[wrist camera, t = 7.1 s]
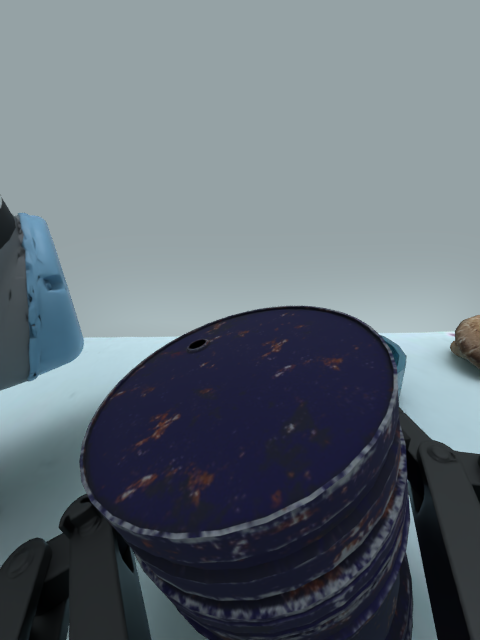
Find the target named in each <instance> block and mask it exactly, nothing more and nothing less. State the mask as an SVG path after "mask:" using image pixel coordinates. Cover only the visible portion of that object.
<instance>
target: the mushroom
mask: <svg viewBox="0 0 480 640" xmlns="http://www.w3.org/2000/svg"><path fill="white" fill-rule="evenodd" d="M450 349H451V351H452V352H453V353H454V354H455V355H457V356H459V357H461V358H464V359H467V360H469V361H470V362H471V363H472V364H473V365H474V366H476V367H477V368H478V369H480V315H477V316H474V317H471V318H468V319H465V320H463V321H462V322H461V323H460V324H459V326H458V327H457V328H456V330H455V341H453V342H452V343H451V346H450Z"/></svg>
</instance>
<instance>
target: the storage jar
mask: <svg viewBox="0 0 480 640" xmlns="http://www.w3.org/2000/svg"><path fill="white" fill-rule="evenodd" d="M79 463H80V472H81V481H82V484H83V486H84V488H85V491H86V493H87V495H88V497H89V499H90V501H91V503H92V504H93V505H94V506H95V507H96V509H97V510H98V511H99V512H100V513H101V514H102V515H103V517H104V518H105V519H106V520H107V521H108V522H109V523H110V524H111V525H112V526H113V527H114V528H115V529H116V530H117V531H118V532H119V533H120V534H121V535H122V536H123V538H124V540H125V542H126V543H127V544H128V545H129V546H130V547H131V549H132V550H133V552H134V554H135V556H136V558H137V560H138V562H139V563H140V565H141V567H142V569H143V571H144V572H145V573H146V574H147V575H148V577H149V578H150V579H151V580H152V581H153V582H154V583H155V584H156V585H157V587H158V588H159V589H160V590H161V591H162V592H163V593H164V594H165V595H166V596H167V598H168V599H169V600H170V601H171V602H172V603H173V604H174V605H175V606H176V608H177V610H178V611H179V612H180V613H181V614H182V615H183V616H184V618H185V619H186V620H187V621H188V622H189V623H190V624H191V625H192V626H193V627H194V628H195V630H196V631H197V632H199V633H200V634H202V635H203V636H205V637H206V638H208V639H209V640H411V638H412V628H413V619H412V613H413V596H412V580H411V574H410V569H409V564H408V559H407V555H406V547H407V539H408V532H409V524H410V511H409V494H408V481H407V460H406V444H405V440H404V437H403V433H402V429H401V426H400V418H399V398H398V375H397V366H396V363H395V360H394V357H393V354H392V351H391V349H390V348H389V346H388V345H387V344H386V342H385V341H384V339H383V338H382V336H381V335H379V334H378V333H377V332H376V331H375V330H374V329H373V328H371V327H370V326H369V325H367V324H366V323H364V322H362V321H361V320H359V319H357V318H355V317H352V316H350V315H348V314H345V313H343V312H339V311H335V310H331V309H326V308H320V307H312V306H280V307H271V308H263V309H257V310H252V311H247V312H243V313H239V314H236V315H232V316H228V317H226V318H222V319H219V320H216V321H214V322H211V323H208V324H206V325H204V326H201V327H199V328H197V329H194V330H192V331H190V332H188V333H186V334H184V335H182V336H180V337H178V338H177V339H175V340H173V341H171V342H170V343H168V344H166V345H165V346H163V347H162V348H160V349H158V350H157V351H155V352H154V353H153V354H151V355H150V356H148V357H147V358H146V359H144V360H143V361H142V362H141V363H139V364H138V365H137V366H136V367H135V368H133V369H132V370H131V371H130V372H129V373H128V374H127V375H126V376H125V377H124V378H123V379H122V380H121V381H120V382H119V383H118V384H117V385H116V386H115V387H114V388H113V389H112V391H111V392H110V393H109V394H108V395H107V397H106V398H105V399H104V401H103V402H102V404H101V405H100V406H99V408H98V409H97V411H96V413H95V415H94V416H93V418H92V420H91V422H90V424H89V426H88V429H87V431H86V434H85V437H84V440H83V442H82V448H81V455H80V461H79Z"/></svg>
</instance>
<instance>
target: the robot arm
mask: <svg viewBox="0 0 480 640" xmlns="http://www.w3.org/2000/svg"><path fill="white" fill-rule="evenodd" d="M83 346H84V340H83V336H82V332H81V329H80V326H79V322H78V319H77V316H76V312H75V309H74V306H73V303H72V299H71V296H70V293H69V290H68V287H67V284H66V281H65V278H64V275H63V271H62V268H61V265H60V262H59V259H58V255H57V253H56V249H55V246H54V243H53V240H52V237H51V235H50V232H49V229H48V226H47V223H46V221H45V220H44V219H42V218H41V217H39V216H30V215H28V214H26V213H18V215H17V216H13V215H12V214H11V213H10V211H9V209H8V207H7V206H6V204H5V202H4V201H3V199H2V197H1V196H0V390H3V389H6V388H9V387H12V386H15V385H17V384H20V383H23V382H26V381H32V380H34V379H36V378H37V377H38V375H41V374H43V373H46V372H48V371H50V370H53V369H55V368H58V367H60V366H62V365H65V364H67V363H69V362H71V361H73V360H74V359H76V358H77V357H78V356H79V354H80V353H81V351H82V349H83ZM399 418H400V426H401V429H402V433H403V437H404V440H405V444H406V460H407V479H408V494H409V497H410V502H411V507H412V512H413V517H414V522H415V527H416V532H417V537H418V542H419V547H420V552H421V557H422V563H423V568H424V573H425V578H426V583H427V588H428V593H429V598H430V603H431V608H432V613H433V618H434V623H435V629H436V634H437V639H438V640H480V454H474V453H466V452H458V451H454V450H452V449H451V448H450V447H448V446H447V445H445V444H443V443H441V442H438V441H435V440H432V439H431V438H429V437H428V436H427V435H426V434H425V433H424V432H423V431H422V430H421V429H420V428H419V427H418V426H417V425H416V424H415V423H414V422H413V421H412V420H411V419H410V418H409V417H408V416H407V415H406V414H405V413H404V412H403V411H402V410H401V409H400V408H399ZM59 529H60V530H61V531H62V532H63V533H62V534H60V535H59V536H57V537H55V538H53V539H51V540H49V541H47V542H45V541H44V540H43V539H41V538H34V539H31V540H28V541H27V542H25V543H24V544H22V545H21V546H19V547H18V548H17V549H16V550H15V551H14V552H13V553H12V554H11V555H10V556H9V557H8V559H7V560H6V561H5V562H4V564H3V565H2V567H1V569H0V640H66V637H67V632H68V627H69V640H151V635H150V630H149V625H148V621H147V616H146V611H145V606H144V601H143V597H142V592H141V587H140V582H139V577H138V572H137V568H136V563H135V558H134V553H133V550H132V549H131V547H130V546H129V545H128V544H127V543H126V542H125V540H124V538H123V536H122V535H121V534H120V533H119V532H118V531H117V530H116V529H115V528H114V527H113V526H112V525H111V524H110V523H109V522H108V521H107V520H106V519H105V518H104V517H103V515H102V514H101V513H100V512H99V511H98V510H97V509H96V507H95V506H94V505H93V504H92V503H91V501H90V499H89V497H88V495H87V494H85V495H83V496H81V497H79V498H78V499H77V500H75V501H74V502H73V503H72V504H71V505H70V506H69V507H68V508H67V510H66V511H65V512H64V514H63V516H62V518H61V520H60V524H59Z"/></svg>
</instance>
